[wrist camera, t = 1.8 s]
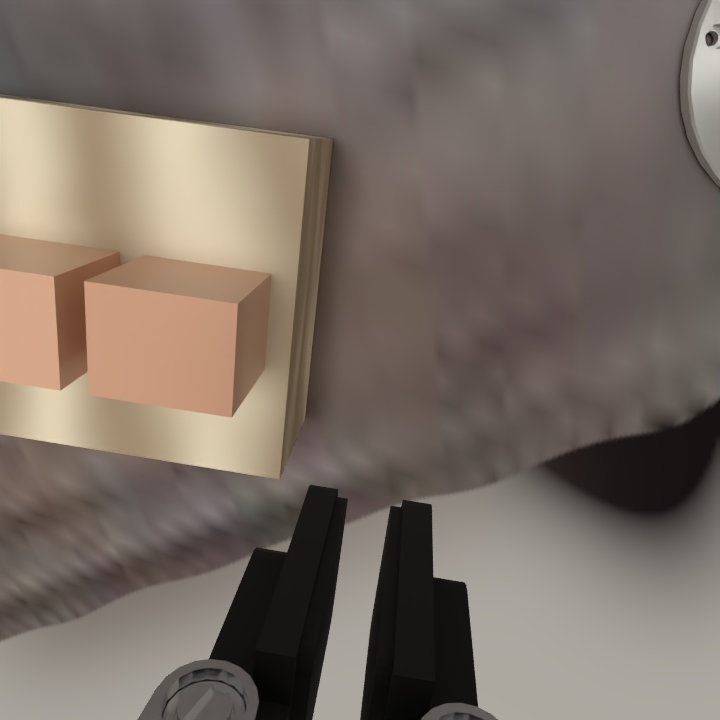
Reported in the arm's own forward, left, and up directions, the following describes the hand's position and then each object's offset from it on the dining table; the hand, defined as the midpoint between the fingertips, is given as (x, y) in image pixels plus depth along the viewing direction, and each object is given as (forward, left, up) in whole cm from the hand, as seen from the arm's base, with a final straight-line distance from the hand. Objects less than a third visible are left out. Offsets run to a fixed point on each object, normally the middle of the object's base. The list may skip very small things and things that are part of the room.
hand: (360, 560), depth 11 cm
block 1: (+14, 0, -13) cm, 19 cm away
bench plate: (+11, 0, -19) cm, 22 cm away
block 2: (+8, 0, -13) cm, 15 cm away
